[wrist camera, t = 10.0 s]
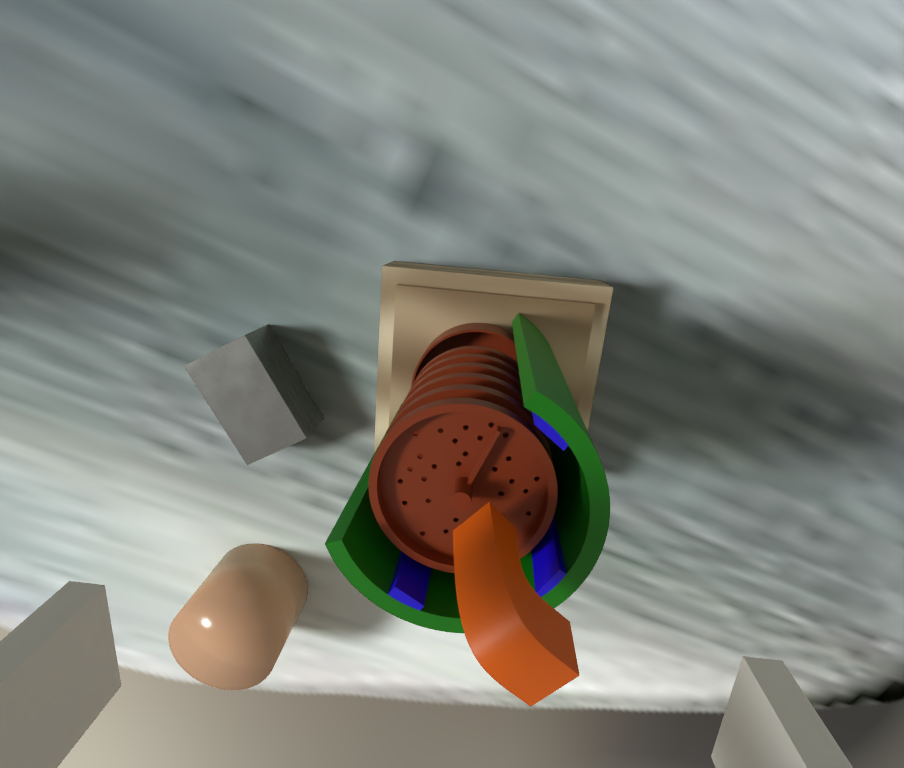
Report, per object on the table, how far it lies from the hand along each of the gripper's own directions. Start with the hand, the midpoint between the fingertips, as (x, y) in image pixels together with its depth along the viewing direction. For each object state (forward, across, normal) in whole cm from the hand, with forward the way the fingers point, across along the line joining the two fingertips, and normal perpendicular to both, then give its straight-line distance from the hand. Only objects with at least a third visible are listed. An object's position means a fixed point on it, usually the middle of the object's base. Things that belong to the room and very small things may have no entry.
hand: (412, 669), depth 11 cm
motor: (+23, +1, -1) cm, 23 cm away
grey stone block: (+28, -15, -4) cm, 32 cm away
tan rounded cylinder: (+27, -16, -22) cm, 39 cm away
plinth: (+27, +1, -1) cm, 27 cm away
